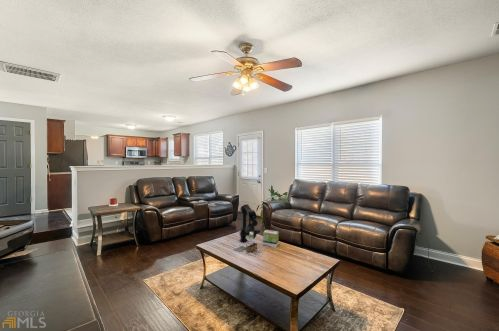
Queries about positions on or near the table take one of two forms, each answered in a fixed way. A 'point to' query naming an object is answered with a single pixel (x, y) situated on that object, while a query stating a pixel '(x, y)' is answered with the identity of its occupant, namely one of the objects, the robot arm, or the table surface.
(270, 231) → the tea box
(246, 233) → the robot arm
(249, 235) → the lid
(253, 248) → the walnut box
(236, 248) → the slate mat
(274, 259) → the table surface
